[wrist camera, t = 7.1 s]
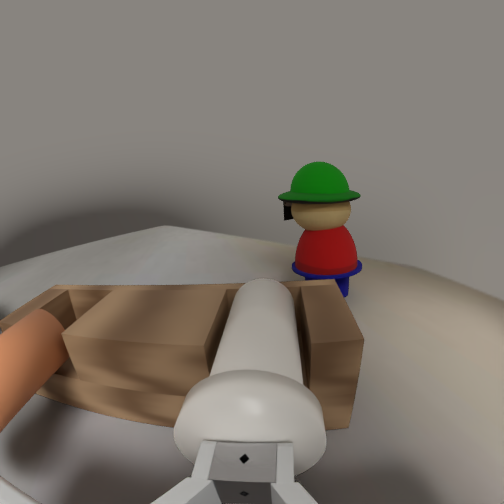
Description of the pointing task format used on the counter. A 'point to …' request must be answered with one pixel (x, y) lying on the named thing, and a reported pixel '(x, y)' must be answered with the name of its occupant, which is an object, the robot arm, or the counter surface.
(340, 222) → the toy
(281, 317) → the plug white
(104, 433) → the counter surface
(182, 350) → the socket block
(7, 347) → the plug rust
